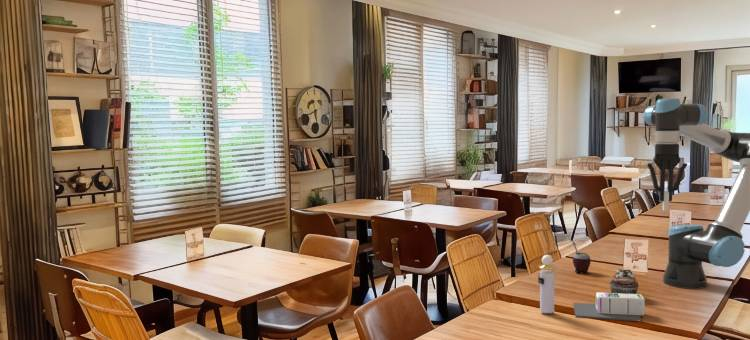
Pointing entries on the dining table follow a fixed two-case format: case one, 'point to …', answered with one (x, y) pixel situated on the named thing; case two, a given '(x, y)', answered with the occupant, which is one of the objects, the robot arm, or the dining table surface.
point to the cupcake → (624, 282)
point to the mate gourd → (581, 261)
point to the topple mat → (591, 312)
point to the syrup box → (620, 303)
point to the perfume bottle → (546, 285)
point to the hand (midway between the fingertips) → (665, 210)
